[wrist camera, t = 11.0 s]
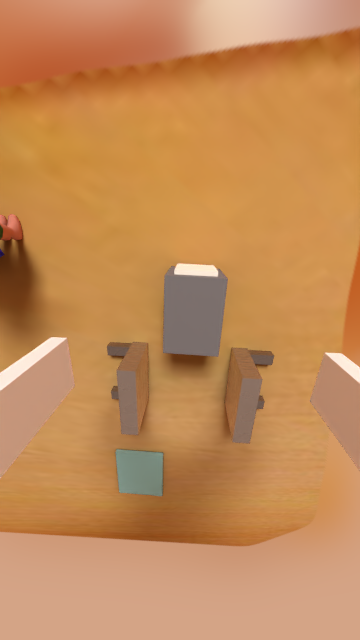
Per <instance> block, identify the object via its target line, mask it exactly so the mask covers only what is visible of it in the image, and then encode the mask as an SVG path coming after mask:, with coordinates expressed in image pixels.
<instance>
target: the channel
mask: <svg viewBox="0 0 360 640" xmlns="http://www.w3.org/2000/svg"><path fill="white" fill-rule="evenodd" d="M107 351H108V355H114V356H125V357H124V358H123V360H122V362H121V364H120V365H119V367H118V369H117V381H118V386H114V387H113V389H112V391H111V394H112V399H119V407H120V420H121V433H122V434H129V435H138V434H139V431H140V427H141V423H142V420H143V416H144V413H145V409H146V405H147V402H148V398H149V381H148V343H140V342H133V343H132V344H131V343H114V342H110V343H109V344H108V346H107ZM273 358H274V355H273V354H272V352H271V351H253V350H248V349H245V348H232V351H231V358H230V366H229V373H228V381H227V388H226V396H225V407H226V412H227V417H228V422H229V428H230V433H231V438H232V442H236V443H250V439H251V434H252V429H253V424H254V419H255V414H256V409H263V406H264V399H263V397H262V396H259V394H260V389H261V384H262V378H261V376H260V374H259V372H258V369H257V367H256V365H255V364H264V365H272V363H273Z"/></svg>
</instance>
